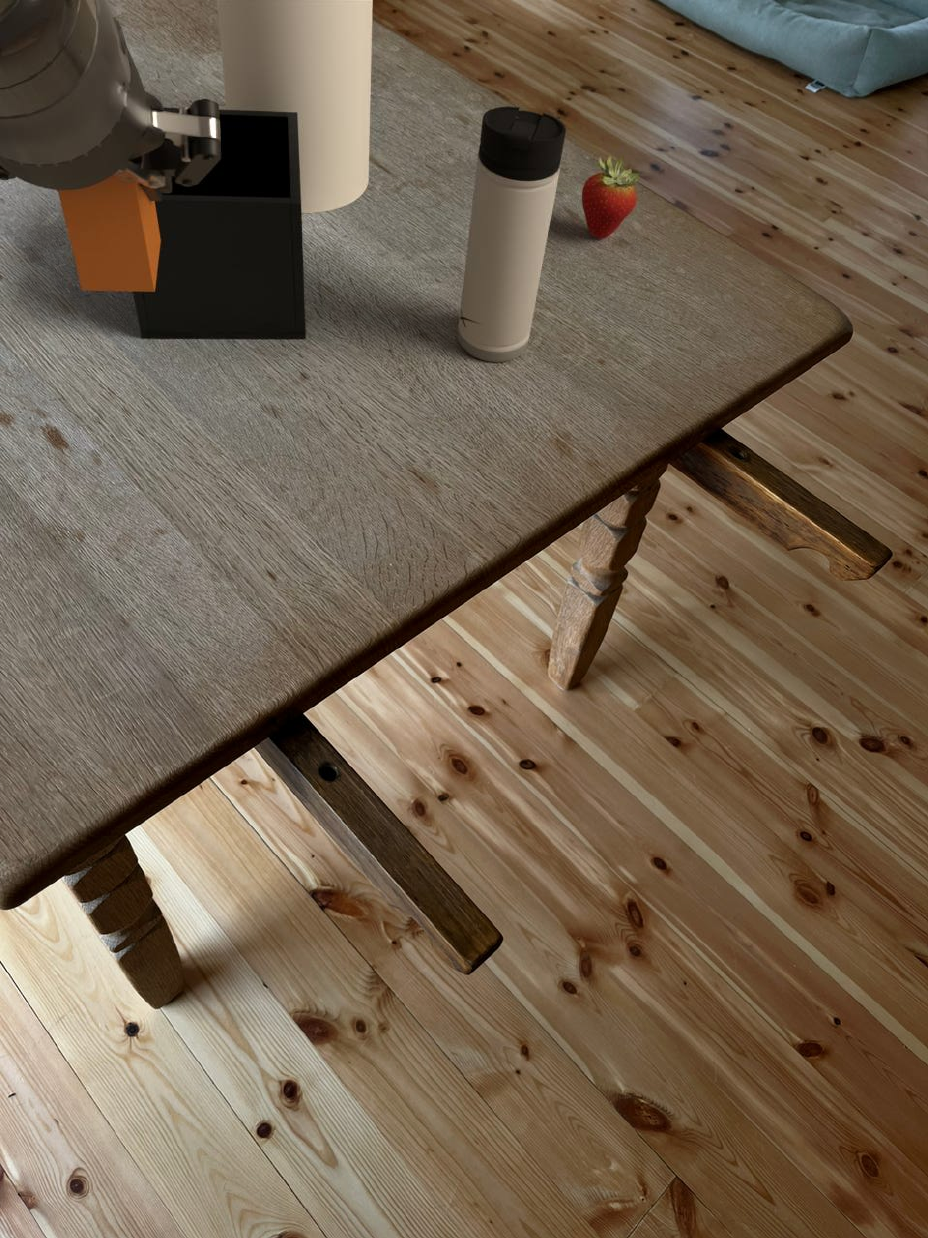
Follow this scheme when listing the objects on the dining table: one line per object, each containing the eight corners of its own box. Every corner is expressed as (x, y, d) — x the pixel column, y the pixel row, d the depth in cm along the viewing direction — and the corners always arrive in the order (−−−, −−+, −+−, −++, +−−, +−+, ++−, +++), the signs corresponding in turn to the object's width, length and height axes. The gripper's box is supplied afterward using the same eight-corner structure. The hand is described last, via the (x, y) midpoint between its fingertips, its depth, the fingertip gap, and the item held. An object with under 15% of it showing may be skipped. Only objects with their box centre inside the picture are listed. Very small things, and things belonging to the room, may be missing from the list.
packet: (81, 290, 57) (48, 154, 50) (91, 238, 60) (61, 103, 53) (154, 291, 57) (131, 157, 51) (161, 240, 60) (139, 106, 54)
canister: (389, 200, 100) (398, -22, 84) (258, 222, 96) (241, -7, 80) (339, 131, 107) (339, -86, 91) (215, 149, 102) (191, -76, 86)
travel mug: (448, 356, 87) (472, 128, 71) (466, 311, 91) (493, 85, 75) (518, 372, 86) (559, 147, 70) (533, 327, 90) (575, 103, 74)
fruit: (633, 251, 99) (654, 174, 93) (583, 255, 98) (600, 177, 91) (615, 221, 102) (633, 144, 95) (565, 225, 101) (581, 147, 94)
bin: (141, 338, 84) (114, 199, 74) (151, 243, 92) (128, 105, 82) (305, 339, 86) (301, 203, 76) (302, 245, 94) (297, 111, 84)
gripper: (-156, 155, 39) (-15, 247, 56) (218, 168, 41) (245, 254, 58) (-176, -55, 38) (-26, 103, 55) (210, -31, 40) (240, 115, 57)
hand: (113, 180), depth 56 cm, fingers closed on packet, 4 cm apart
